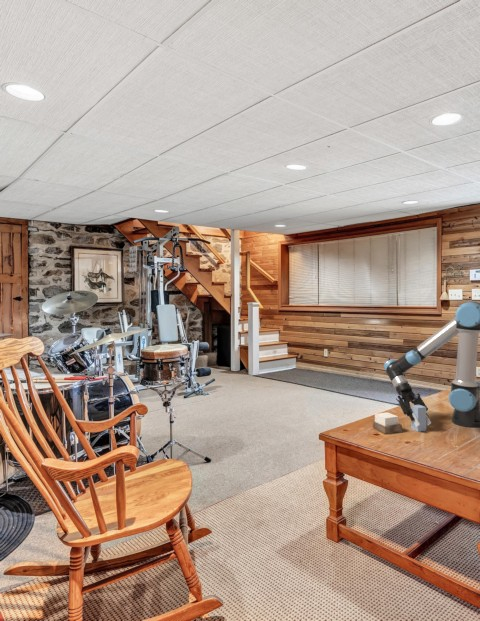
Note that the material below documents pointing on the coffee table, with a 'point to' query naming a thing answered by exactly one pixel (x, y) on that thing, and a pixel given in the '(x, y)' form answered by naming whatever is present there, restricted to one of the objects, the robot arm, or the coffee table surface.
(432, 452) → the coffee table surface
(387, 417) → the cream tower block
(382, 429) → the walnut tower slab
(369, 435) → the coffee table surface
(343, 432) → the coffee table surface
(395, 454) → the coffee table surface
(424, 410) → the slate-blue pillar
